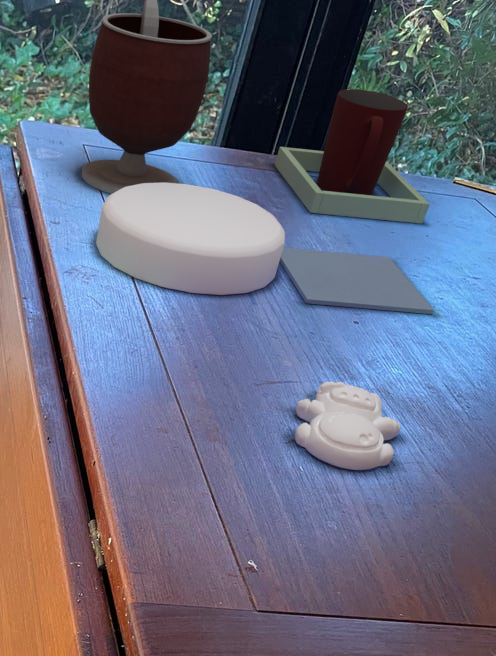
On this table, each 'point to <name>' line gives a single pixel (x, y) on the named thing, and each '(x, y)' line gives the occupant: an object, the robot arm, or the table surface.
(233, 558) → the table surface
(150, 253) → the container
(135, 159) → the mate gourd
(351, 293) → the mat
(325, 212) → the green rectangular frame
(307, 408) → the astronaut figurine
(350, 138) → the mug
